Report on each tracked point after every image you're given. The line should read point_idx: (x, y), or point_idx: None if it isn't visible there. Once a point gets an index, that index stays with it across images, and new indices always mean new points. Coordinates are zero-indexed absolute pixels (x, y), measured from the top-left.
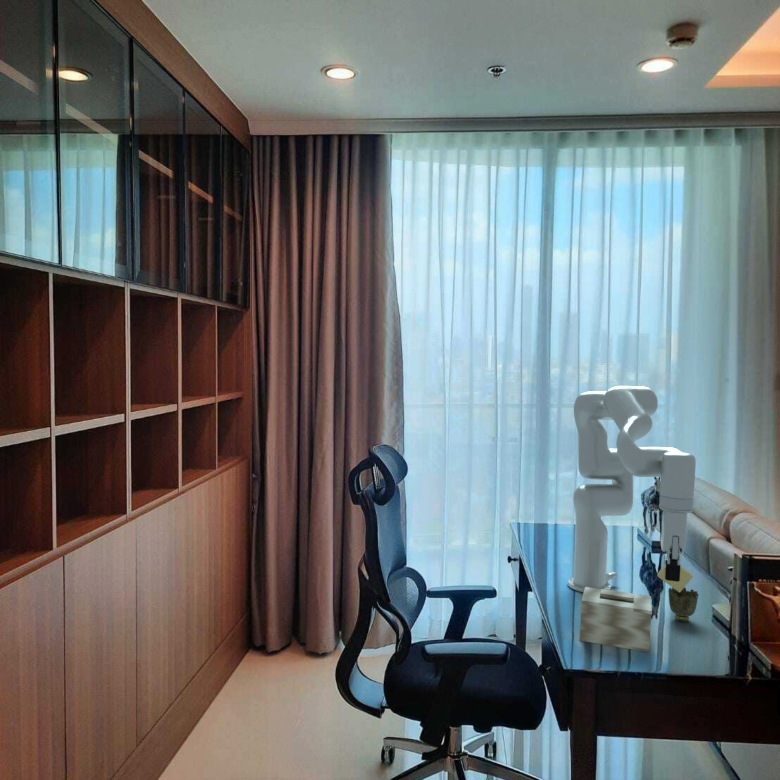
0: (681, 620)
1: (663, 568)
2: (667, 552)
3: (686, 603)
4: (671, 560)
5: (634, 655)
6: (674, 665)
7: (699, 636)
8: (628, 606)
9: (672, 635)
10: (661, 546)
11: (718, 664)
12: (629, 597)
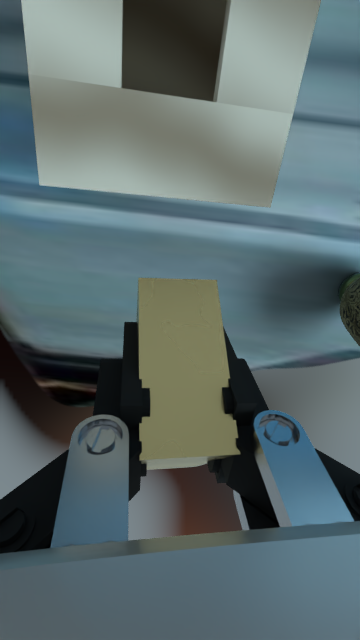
0: (340, 287)
1: (167, 349)
2: (273, 488)
3: (354, 323)
4: (4, 503)
5: (18, 102)
6: (9, 232)
7: (248, 316)
8: (44, 38)
9: (239, 251)
10: (132, 598)
11: (81, 337)
12: (222, 71)
